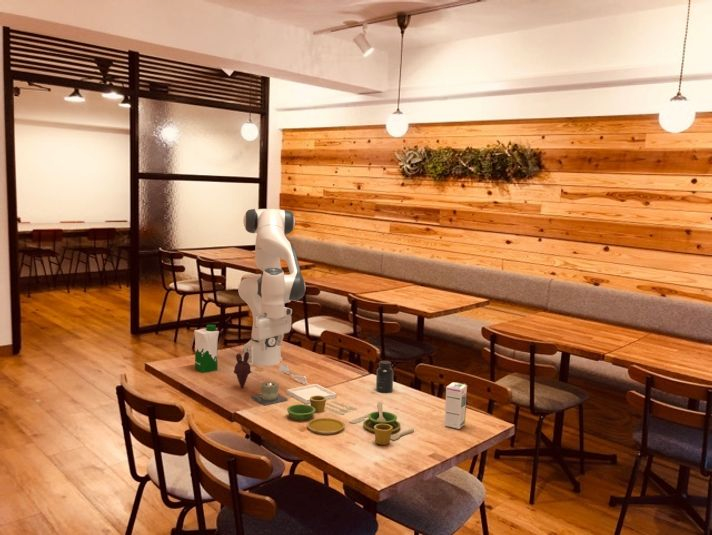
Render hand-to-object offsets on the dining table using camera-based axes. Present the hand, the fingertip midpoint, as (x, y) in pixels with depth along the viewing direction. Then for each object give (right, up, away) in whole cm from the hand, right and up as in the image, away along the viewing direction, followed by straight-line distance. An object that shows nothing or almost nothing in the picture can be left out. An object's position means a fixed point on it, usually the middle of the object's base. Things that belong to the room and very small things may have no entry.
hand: (271, 347), depth 227 cm
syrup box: (+67, -25, -14) cm, 73 cm away
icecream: (-13, -18, +13) cm, 26 cm away
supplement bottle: (+43, -20, +19) cm, 51 cm away
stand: (-1, -20, +2) cm, 20 cm away
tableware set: (+29, -25, -18) cm, 42 cm away
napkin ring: (-1, -19, +2) cm, 19 cm away
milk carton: (-33, -15, +34) cm, 50 cm away
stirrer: (+6, -18, +28) cm, 34 cm away
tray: (+14, -20, +9) cm, 26 cm away
